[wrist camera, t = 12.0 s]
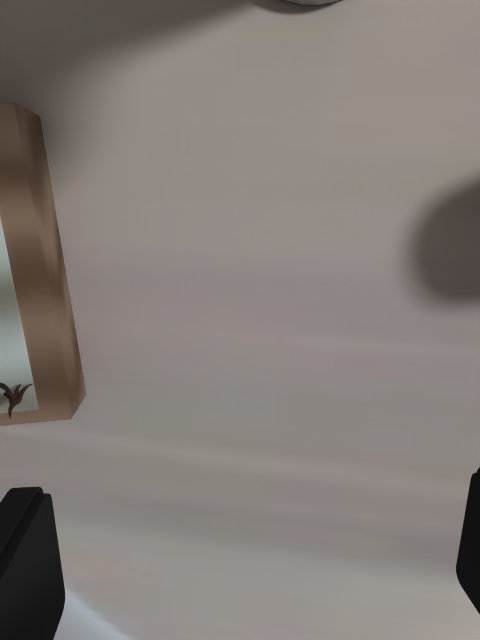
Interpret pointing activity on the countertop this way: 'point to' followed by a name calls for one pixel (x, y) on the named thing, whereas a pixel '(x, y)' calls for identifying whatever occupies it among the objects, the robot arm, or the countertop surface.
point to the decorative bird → (13, 396)
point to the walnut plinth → (33, 282)
